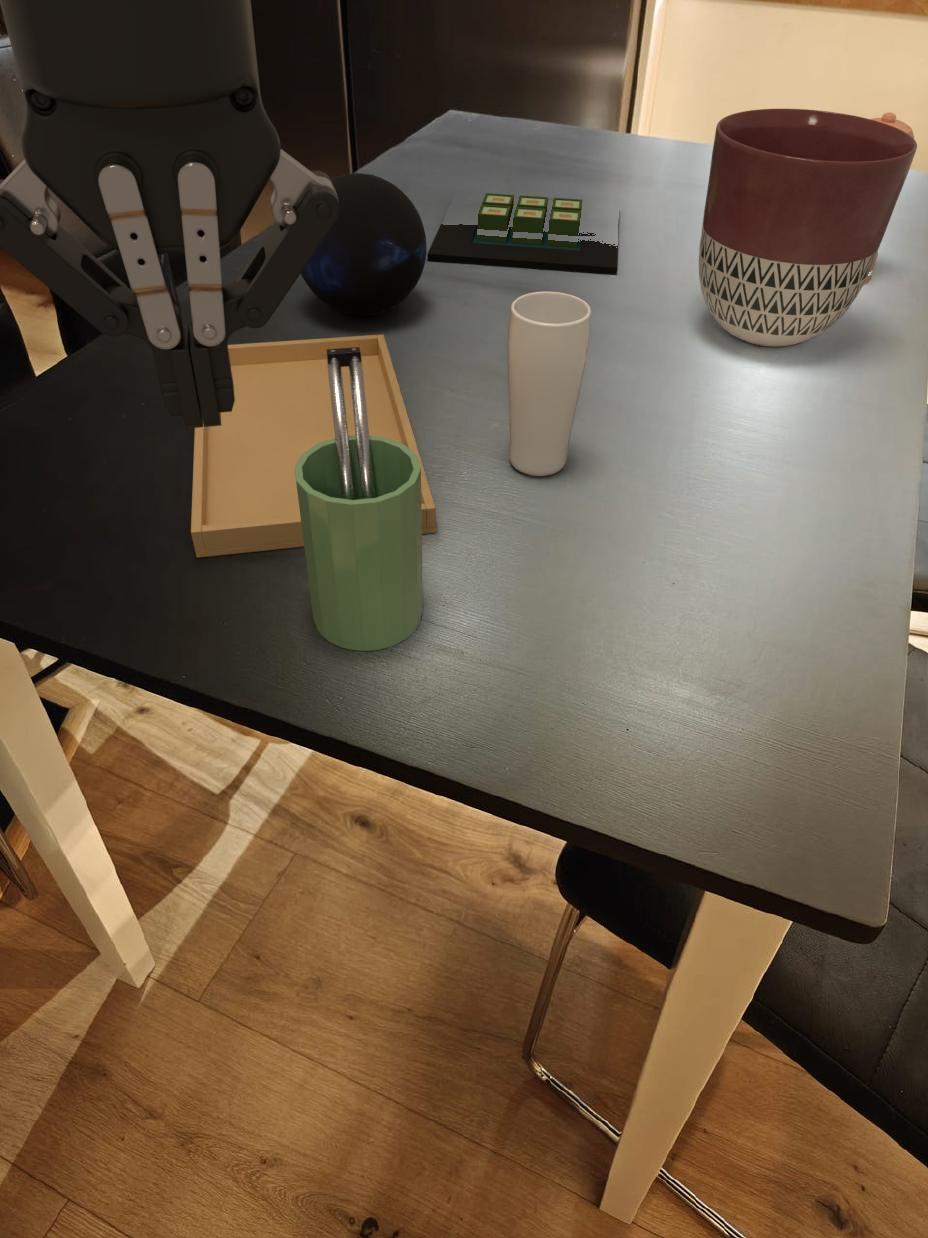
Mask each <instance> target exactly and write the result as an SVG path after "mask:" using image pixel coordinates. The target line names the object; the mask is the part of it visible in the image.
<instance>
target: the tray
mask: <svg viewBox="0 0 928 1238" xmlns="http://www.w3.org/2000/svg"><path fill="white" fill-rule="evenodd" d="M353 347H359V348H360V352H361V359H362V369H363V379H364V390H365V400H366V410H367V421H368V431H369V435H370V436H378V437H385V438H388V439H391V440H393V441H396V442H399V443H401V444H404V445H405V446H406V447H408V448H409V449H410V450H411V451H412V452H413V453H414V454H416V455H417V457H418V461H419V464H420V467H421V510H422V535H429V534H436V532H437V531H436V529H437V528H436V526H437V525H436V523H437V521H436V518H437V517H436V514H437V512H436V505H435V501H434V499H433V495H432V492H431V489H430V484H429V482H428V479H427V475H426V472H425V468H424V464H423V462H422V457H421V455H420V451H419V448H418V444H417V442H416V438H415V435H414V431H413V428H412V425H411V421H410V418H409V415H408V411H407V408H406V404H405V401H404V398H403V395H402V390H401V388H400V385H399V381H398V378H397V374H396V371H395V368H394V364H393V362H392V358H391V355H390V351H389V348H388V345H387V341H386V338H385V334H370V335H368V334H367V335H354V336H352V335H351V336H340V337H339V336H338V337H327V338H325V337H324V338H323V337H322V338H311V339H296V340H295V339H294V340H280V341H267V342H266V341H265V342H252V343H236V344H228V351H229V357H230V364H231V370H232V377H233V384H234V396H235V402H234V405H233V408H232V412H221V426H210V427H204V423H203V427H199V428H194V439H193V465H192V467H193V469H192V491H191V493H192V494H191V518H190V519H191V520H190V522H191V523H190V535H191V540H192V542H193V548H194V552H195V557H196V558H207V557H216V556H217V557H218V556H227V555H236V554H237V555H238V554H246V553H257V552H267V551H275V550H283V549H284V550H285V549H293V548H304V541H303V533H302V525H301V517H300V509H299V501H298V493H297V485H296V477H295V465H296V464H297V462H298V460H299V459H300V457H301V456H302V454H303V453H305V452H306V451H308V450H309V449H311V448H312V447H314V446H315V445H317V444H319V443H321V442H324V441H327V440H331V439H334V438H335V431H334V422H333V412H332V403H331V394H330V385H329V375H328V366H327V349H339V348H353ZM341 370H342V379H343V389H344V399H345V408H346V418H347V428H348V436H353V435H356V434H355V424H354V414H353V404H352V394H351V384H350V374H349V366H348V367H341Z"/></svg>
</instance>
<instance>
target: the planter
mask: <svg viewBox="0 0 928 1238" xmlns="http://www.w3.org/2000/svg"><path fill="white" fill-rule="evenodd" d="M871 119H872V118H866V117H862V116H857V115H853V114H849V113H847V114H846V113H841V112H834V111H827V110H818V109H807V108H806V109H804V108H761V109H752V110H751V109H750V110H744V111H739V112H735V113H732V114H729V115H726V116H724V117H723V118H721V119H720V120H719V121H718V122H717V124H716V127H715V133H714V140H713V145H712V151H711V160H710V167H709V177H708V181H707V182H708V183H707V189H706V195H705V203H704V209H703V218H702V226H701V234H700V241H699V250H698V279H699V287H700V292H701V296H702V298H703V301H704V303H705V305H706V308H707V309H708V311H709V312H710V314H711V316H712V317H713V318H714V319H715V320H716V322H717V323H718V324H719V325H720V326H721V327H722V328H723V329H724V330H725V331H726V332H728V333H729V334H730V335H732V336H733V335H734V336H733V337H735V336H736V337H735V338H737V339H739V338H740V339H739V340H741V339H742V340H741V341H743V342H746V343H749V344H753V345H757V346H762V347H774V348H775V347H776V348H777V347H779V348H780V347H788V346H793V345H796V344H800V343H804V342H806V341H808V340H810V339H812V338H815V337H817V336H818V335H820V334H822V333H823V332H825V331H826V330H828V329H830V328H831V327H832V326H833V325H834V324H836V323H837V322H838V321H839V320H840V319H841V318H842V317H843V316H844V315H845V314H846V313H847V311H848V310H849V309H850V307H851V306H852V304H854V302H855V300H856V299H857V297H858V295H859V294H860V292H861V290H862V289H863V286H864V285H865V284H866V283H865V281H866V279H867V276H868V274H869V272H870V269H871V267H872V264H873V262H874V259H875V256H876V254H877V251H879V249H880V246H881V244H882V241H883V239H884V236H885V234H886V231H887V229H888V226H889V223H890V221H891V218H892V215H893V212H894V210H895V207H896V204H897V202H898V199H899V197H900V195H901V192H902V190H903V187H904V184H905V183H906V179H907V177H908V174H909V171H910V169H911V166H912V163H913V160H914V158H915V155H916V152H917V150H918V143H917V141H916V140H915V137H914V138H912V137H911V136H910V135H909V134H907V133H906V132H904V131H902V130H900V129H898V128H895V127H893V126H890V125H888V124H885V123H882V122H878V121H875V120H871ZM864 283H865V284H864ZM744 340H745V341H744ZM747 341H748V342H747ZM750 342H751V343H750ZM754 343H755V344H754ZM759 344H760V345H759Z"/></svg>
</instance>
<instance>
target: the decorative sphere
mask: <svg viewBox="0 0 928 1238" xmlns="http://www.w3.org/2000/svg"><path fill="white" fill-rule="evenodd" d="M330 179H331V181H332V184H333V186H334V188H335V191H336V194H337V197H338V202H339V205H340V215H339V218H338V219H337V221H336V222H335V224H334V225H333V227H332V228H331V230H330V231H329V233H328V234H327V236H326V237H325V238H324V240H323V241H322V243H321V244H320V246H319V247H318V249H317V250H316V252H315V253H314V255H313V256H312V258H311V259H310V260H309V262H308V263H307V265H306V266H305V268H304V269H303V271H302V272H301V274H300V276H301V277H302V279H303V280H304V282H305V284H306V285H307V287H308V288H309V289H310V291H311V292H312V293H313V294H314V295H315V296H316V297H317V298H318V299H319V300H320V301H322V302H323V303H324V304H325V305H327V306H328V307H330V308H331V309H334V310H336V311H338V312H341V313H344V314H346V315H347V314H348V315H353V316H361V317H362V316H374V315H379V314H382V313H385V312H387V311H390V310H392V309H394V308H395V307H396V306H398V305H399V304H401V303H402V302H404V301H405V300H406V299H407V298H408V297H409V295H410V294H411V293H412V292H413V291H414V289H415V288H416V286H417V284H418V283H419V282H420V279H421V277H422V274H423V271H424V268H425V265H426V260H427V259H426V258H427V248H428V247H427V235H426V231H425V227H424V223H423V220H422V217H421V215H420V214H419V212H418V210H417V208H416V206H415V204H414V203H413V202H412V200H411V199H410V198H409V197H408V195H406V194H405V193H404V191H402V189H400V188H399V187H398V186H396V185H395V184H393V183H392V182H390V181H388V180H387V179H384V178H382V177H380V176H377V175H374V174H369V173H362V172H352V173H345V174H341V175H337V176H334V177H332V178H330Z"/></svg>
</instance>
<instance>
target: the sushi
mask: <svg viewBox="0 0 928 1238" xmlns="http://www.w3.org/2000/svg"><path fill="white" fill-rule="evenodd" d="M484 195H485V197H484V199H483V202H482V205H481V207H480V210H479V213H478V225H463V224H459V225H443V224H441V223H440V225H439V226H438V229H437V232H436V234H435V236H434V238H433V240H432V243H431V245H430V246H429V247H430V248H429V249H428V250H427V252H426V258H427V259H426V260H427V261H429V262H430V261H431V262H443V263H454V264H455V263H457V264H468V265H481V266H482V265H483V266H494V267H495V266H496V267H510V268H523V269H524V268H525V269H537V270H550V271H565V272H575V273H590V274H603V275H617V272H618V263H619V262H618V261H619V245H618V246H613V245H615V244H613V245H611V244H606V243H604V244H602V243H600V242H599V241H597V242H595V241H589V240H588V241H585V240H582V241H581V240H580V242H579V241H578V242H569V241H555V240H548V234H556V235H568V236H595V235H596V234H595V235H592V234H594V233H588V232H587V233H588V234H590V235H588V234H582V233H579V226H580V218H581V210H582V202H583V199H579V198H565V197H553V199H552V200H553V205H552V210H551V214H550V220H549V231H548V232H545V231H544V232H543V228H544V223H545V217H546V212H547V206H548V200H549V197H548V196H537V195H536V196H535V195H519V197H518V198H519V200H518V203H517V207H516V210H515V213H514V218H513V227H509V230H508V234H507V237H499V236H485V235H477V229H484V230H499V231H507V229H508V225H509V221H510V217H511V213H512V209H513V206H514V197H515V194H503V193H491V192H490V193H488V192H486V193H485V194H484ZM511 228H512V229H511ZM513 232H528V233H541V234H542V233H543V237H542V240H541V239H527V238H513V237H512V236H513ZM578 233H579V235H578ZM583 233H584V232H583ZM580 234H581V235H580ZM578 240H579V239H578ZM590 240H591V239H590ZM602 242H603V241H602ZM609 245H611V246H609ZM616 247H617V248H616Z"/></svg>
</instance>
